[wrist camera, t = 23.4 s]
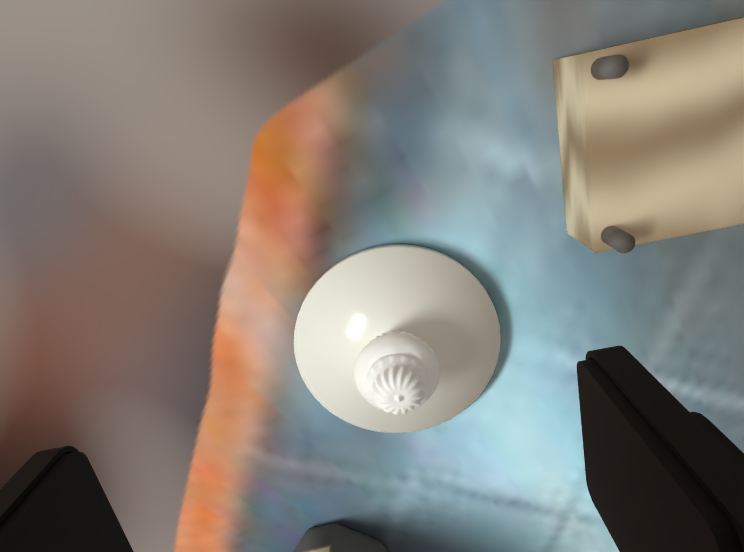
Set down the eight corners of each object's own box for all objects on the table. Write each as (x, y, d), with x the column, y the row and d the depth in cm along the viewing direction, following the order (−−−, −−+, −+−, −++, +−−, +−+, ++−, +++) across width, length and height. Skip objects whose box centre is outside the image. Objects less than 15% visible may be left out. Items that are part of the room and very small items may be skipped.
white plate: (508, 405, 42) (512, 414, 41) (323, 438, 43) (321, 447, 42) (482, 223, 37) (486, 227, 36) (272, 266, 38) (269, 271, 37)
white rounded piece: (351, 316, 38) (346, 363, 31) (432, 310, 38) (444, 355, 31) (359, 387, 40) (356, 444, 33) (436, 381, 40) (448, 437, 33)
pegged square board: (734, 199, 36) (815, 222, 29) (567, 233, 37) (609, 262, 30) (740, 17, 32) (834, -3, 26) (552, 60, 33) (597, 50, 26)
